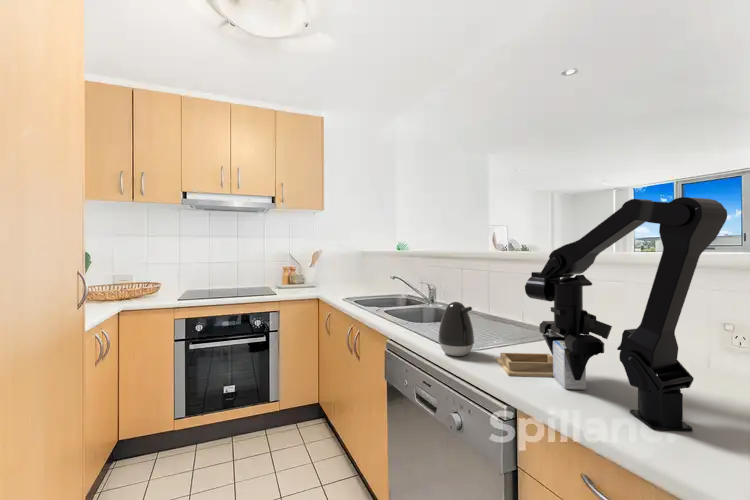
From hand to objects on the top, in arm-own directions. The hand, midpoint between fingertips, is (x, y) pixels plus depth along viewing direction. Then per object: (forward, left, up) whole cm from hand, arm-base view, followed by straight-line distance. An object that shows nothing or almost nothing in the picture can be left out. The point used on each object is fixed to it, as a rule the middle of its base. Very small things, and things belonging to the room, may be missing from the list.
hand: (568, 373), depth 80 cm
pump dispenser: (+21, +22, -3) cm, 31 cm away
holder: (+10, +5, -2) cm, 12 cm away
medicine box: (0, 0, -2) cm, 2 cm away
